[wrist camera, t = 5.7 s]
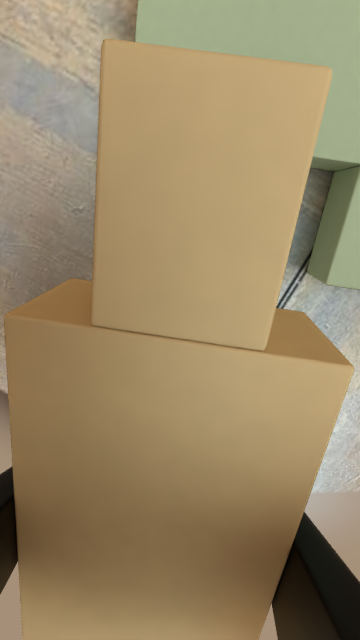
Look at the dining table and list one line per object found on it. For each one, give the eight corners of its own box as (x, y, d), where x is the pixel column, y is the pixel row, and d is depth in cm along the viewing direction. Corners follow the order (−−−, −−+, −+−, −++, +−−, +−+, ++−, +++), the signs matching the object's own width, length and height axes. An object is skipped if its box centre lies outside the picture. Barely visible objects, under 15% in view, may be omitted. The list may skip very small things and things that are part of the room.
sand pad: (231, 575, 12) (240, 695, 9) (66, 547, 12) (22, 656, 9) (354, 131, 7) (460, 79, 4) (73, 95, 7) (-17, 19, 4)
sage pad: (389, 284, 17) (425, 300, 15) (132, 245, 18) (118, 253, 15) (519, -64, 13) (609, -141, 10) (163, -109, 13) (151, -197, 10)
